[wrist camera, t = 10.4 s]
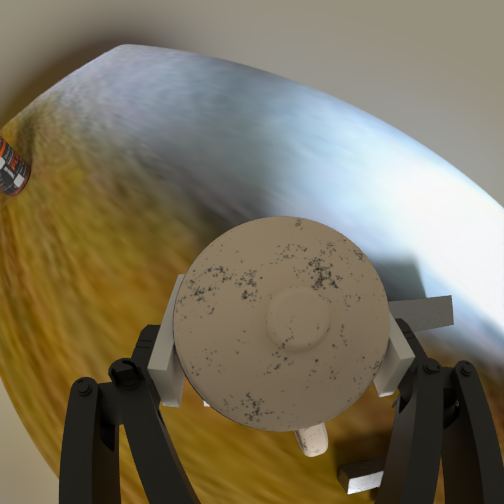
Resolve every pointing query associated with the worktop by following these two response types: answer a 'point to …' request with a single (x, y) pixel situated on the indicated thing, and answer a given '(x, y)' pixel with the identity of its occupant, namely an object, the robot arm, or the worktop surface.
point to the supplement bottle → (12, 170)
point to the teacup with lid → (281, 326)
